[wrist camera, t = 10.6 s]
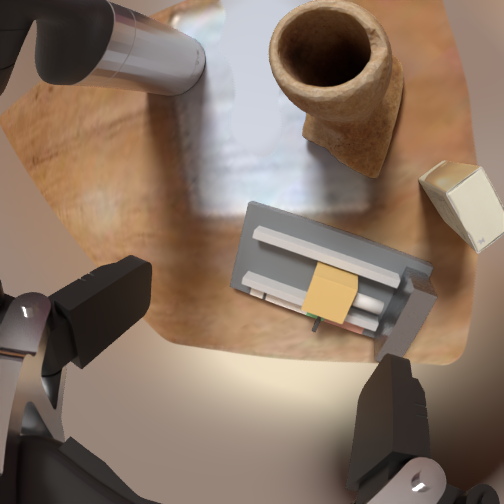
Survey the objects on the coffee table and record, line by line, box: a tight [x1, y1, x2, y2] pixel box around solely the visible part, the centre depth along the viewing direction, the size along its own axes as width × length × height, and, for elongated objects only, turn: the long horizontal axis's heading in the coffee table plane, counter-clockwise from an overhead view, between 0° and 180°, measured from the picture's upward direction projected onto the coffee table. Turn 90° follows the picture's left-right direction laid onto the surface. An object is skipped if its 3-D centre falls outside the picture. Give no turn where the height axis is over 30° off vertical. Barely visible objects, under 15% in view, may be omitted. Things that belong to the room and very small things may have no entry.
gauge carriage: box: [301, 261, 384, 332], centre depth 34 cm, size 9×9×5 cm
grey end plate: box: [374, 266, 437, 362], centre depth 31 cm, size 3×10×6 cm, turn 166°
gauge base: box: [230, 201, 433, 338], centre depth 36 cm, size 24×12×4 cm, turn 76°
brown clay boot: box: [269, 0, 404, 178], centre depth 23 cm, size 15×12×15 cm
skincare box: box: [419, 161, 504, 253], centre depth 24 cm, size 6×4×12 cm
